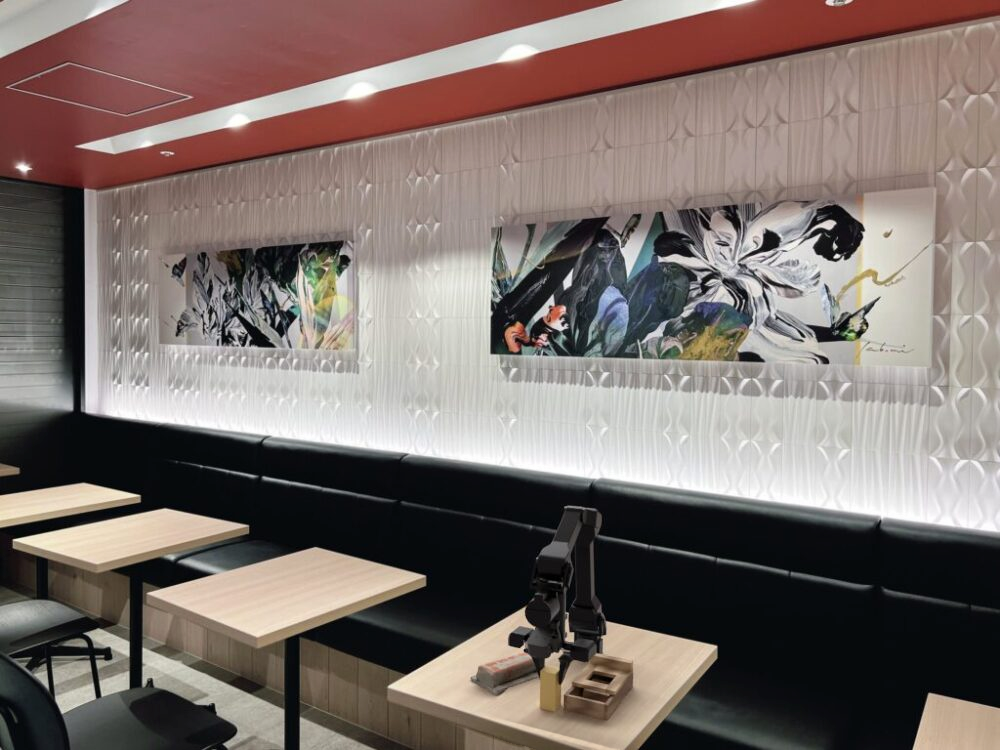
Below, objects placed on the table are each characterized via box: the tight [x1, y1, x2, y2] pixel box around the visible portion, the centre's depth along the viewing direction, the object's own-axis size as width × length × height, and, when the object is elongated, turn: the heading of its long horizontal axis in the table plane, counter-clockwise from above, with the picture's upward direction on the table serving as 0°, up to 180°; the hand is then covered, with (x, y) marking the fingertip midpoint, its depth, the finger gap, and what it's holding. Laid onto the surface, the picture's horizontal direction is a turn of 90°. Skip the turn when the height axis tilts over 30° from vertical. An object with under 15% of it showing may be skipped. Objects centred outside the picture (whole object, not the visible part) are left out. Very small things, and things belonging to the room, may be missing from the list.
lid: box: [571, 653, 634, 695], centre depth 178 cm, size 10×13×3 cm
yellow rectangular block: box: [539, 664, 562, 712], centre depth 171 cm, size 4×4×9 cm
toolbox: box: [562, 672, 634, 721], centre depth 176 cm, size 10×18×4 cm, turn 153°
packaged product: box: [470, 651, 539, 695], centre depth 188 cm, size 18×5×10 cm
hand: (551, 681), depth 171 cm, fingers open, 4 cm apart
